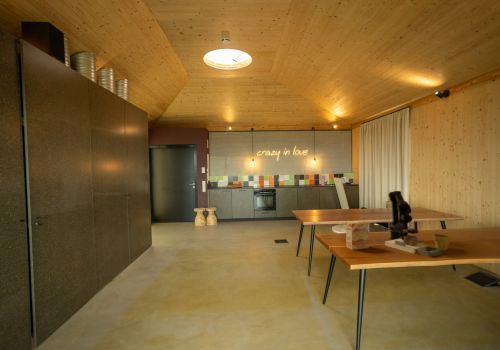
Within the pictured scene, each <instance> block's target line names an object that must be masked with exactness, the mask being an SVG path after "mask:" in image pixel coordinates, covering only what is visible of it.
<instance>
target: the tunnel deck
mask: <svg viewBox="0 0 500 350" xmlns="http://www.w3.org/2000/svg"><path fill="white" fill-rule="evenodd" d="M384 246H386V247H389V248H393V249H397V250H400V251H404V252H406V253H407V252H408V253H411V254H417V255H421V256H425V257H429V258H433V257H435V256H436V257H437V256H440V255H443V250H442V249H439V248H436V247H434V246H430V244H427V243H423V242H420V239H418V238H417V245H415V246H409V245H405V243H404V241H403V240H402V238H401V239H395V240H392V239H389V240H385V241H384Z"/></svg>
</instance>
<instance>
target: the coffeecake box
mask: <svg viewBox="0 0 500 350" xmlns="http://www.w3.org/2000/svg"><path fill="white" fill-rule="evenodd" d="M345 225H346V227H345V228H346V229H345V231H346V234H345V236H346V237H345V238H346V243H345V244H346V245H345V246H346V247H345V248H347V249H349V250H351V251H353V250H361V249H362V250H363V249H369V248H370V244H369V242H370V238H369V237H370V234H369V233H370V232H369V230H370V228H369V227H370V226H369V225H370V223H369V222H368V221H365V220H356V221H354V220H352V221H346V223H345Z"/></svg>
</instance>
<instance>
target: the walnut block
mask: <svg viewBox="0 0 500 350" xmlns="http://www.w3.org/2000/svg"><path fill="white" fill-rule="evenodd" d="M417 239H418V236H415V235H412V234H411V235H410V234H408V235H407V236H404V243H405V245H409V246H415V245H417Z"/></svg>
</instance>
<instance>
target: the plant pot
mask: <svg viewBox="0 0 500 350" xmlns="http://www.w3.org/2000/svg"><path fill="white" fill-rule="evenodd" d="M432 239H433V240H434V241H433V242H434V245H435V248H439V249H442V251H446V250H448V248H449V245H450V242H451V240H452V238H451V236H450V235H448V234H443V233H433V234H432Z"/></svg>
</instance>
